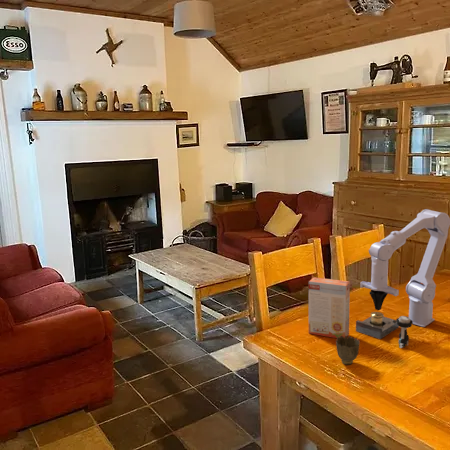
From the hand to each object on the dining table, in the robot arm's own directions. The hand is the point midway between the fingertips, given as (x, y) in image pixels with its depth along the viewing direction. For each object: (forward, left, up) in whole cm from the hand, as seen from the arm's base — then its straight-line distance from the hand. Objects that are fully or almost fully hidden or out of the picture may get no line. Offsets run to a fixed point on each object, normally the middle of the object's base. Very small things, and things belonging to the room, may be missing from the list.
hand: (378, 309), depth 171 cm
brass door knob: (0, 0, -8) cm, 8 cm away
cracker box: (+16, -11, -8) cm, 21 cm away
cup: (+30, +6, -8) cm, 32 cm away
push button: (+6, +13, -8) cm, 17 cm away
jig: (0, 0, -8) cm, 8 cm away
